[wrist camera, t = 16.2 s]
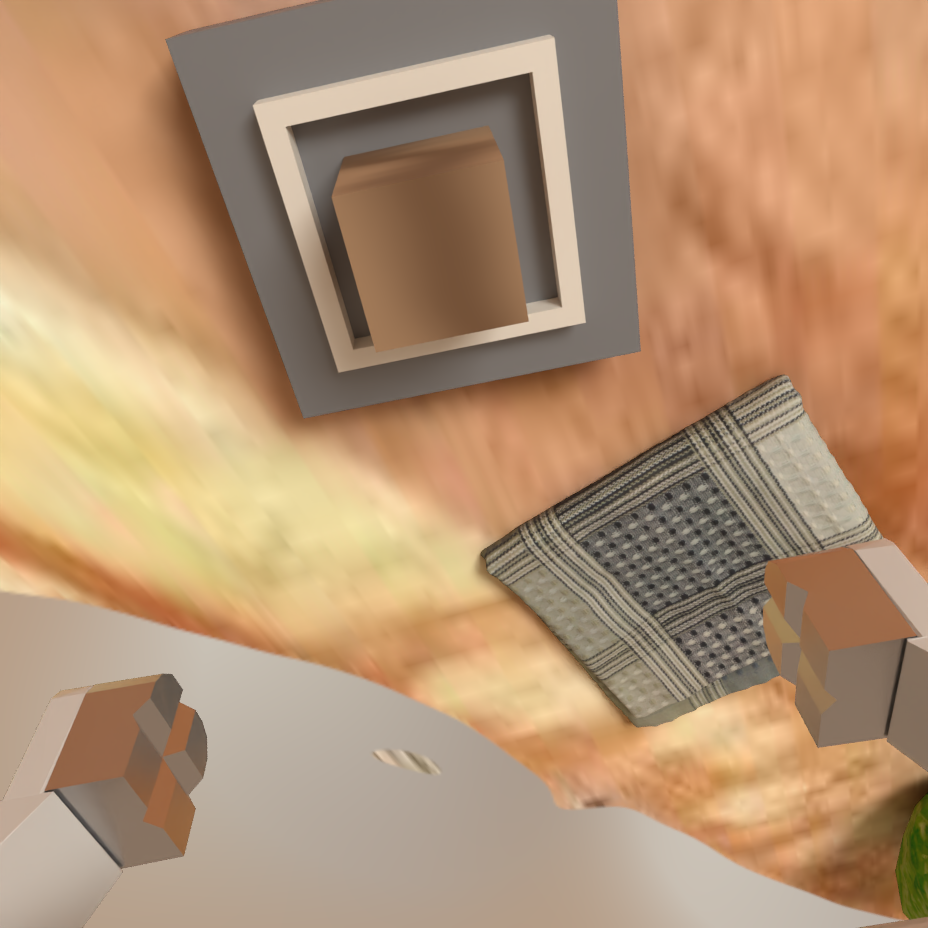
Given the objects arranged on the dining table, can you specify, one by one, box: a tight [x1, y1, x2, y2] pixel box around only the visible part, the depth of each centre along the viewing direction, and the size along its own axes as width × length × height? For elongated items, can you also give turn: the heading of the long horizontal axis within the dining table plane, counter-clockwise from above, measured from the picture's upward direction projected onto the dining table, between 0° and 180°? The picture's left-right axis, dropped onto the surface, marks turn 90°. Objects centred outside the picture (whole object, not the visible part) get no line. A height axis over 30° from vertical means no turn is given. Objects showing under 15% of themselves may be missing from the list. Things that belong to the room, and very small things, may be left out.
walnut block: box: [332, 125, 529, 352], centre depth 25 cm, size 5×5×5 cm
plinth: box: [165, 0, 641, 418], centre depth 28 cm, size 14×14×4 cm
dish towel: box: [481, 375, 884, 728], centre depth 41 cm, size 19×18×3 cm
